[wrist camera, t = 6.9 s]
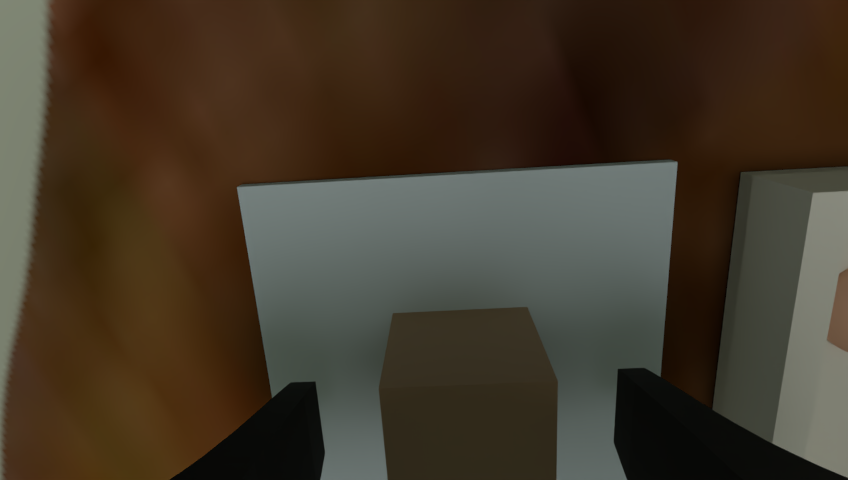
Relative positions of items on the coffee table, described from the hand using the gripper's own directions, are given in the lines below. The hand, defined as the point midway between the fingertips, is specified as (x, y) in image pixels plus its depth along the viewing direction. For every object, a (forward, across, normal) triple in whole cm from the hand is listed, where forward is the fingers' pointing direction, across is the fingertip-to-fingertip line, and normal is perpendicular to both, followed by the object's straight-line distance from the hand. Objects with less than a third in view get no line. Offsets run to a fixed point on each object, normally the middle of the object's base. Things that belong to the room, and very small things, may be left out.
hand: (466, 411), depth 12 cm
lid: (+3, 0, 0) cm, 3 cm away
